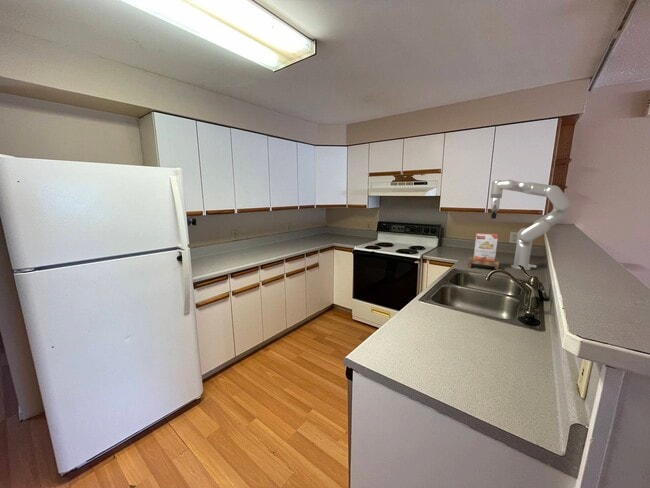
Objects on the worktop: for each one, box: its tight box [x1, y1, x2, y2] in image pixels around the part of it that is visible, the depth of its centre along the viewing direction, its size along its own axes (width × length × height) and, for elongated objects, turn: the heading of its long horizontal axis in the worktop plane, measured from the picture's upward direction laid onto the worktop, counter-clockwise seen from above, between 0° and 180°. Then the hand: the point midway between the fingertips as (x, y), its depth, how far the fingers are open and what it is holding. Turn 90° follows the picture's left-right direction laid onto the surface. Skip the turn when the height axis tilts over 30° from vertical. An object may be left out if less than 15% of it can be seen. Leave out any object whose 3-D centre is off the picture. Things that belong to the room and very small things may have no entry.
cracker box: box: [473, 232, 499, 262], centre depth 206 cm, size 14×6×21 cm, turn 68°
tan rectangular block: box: [467, 256, 500, 270], centre depth 209 cm, size 20×14×6 cm
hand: (493, 218), depth 213 cm, fingers open, 9 cm apart
